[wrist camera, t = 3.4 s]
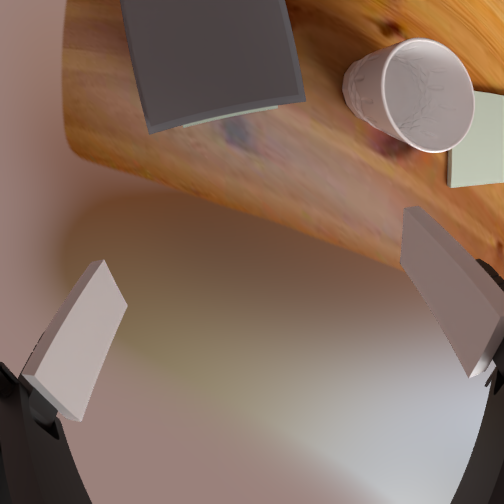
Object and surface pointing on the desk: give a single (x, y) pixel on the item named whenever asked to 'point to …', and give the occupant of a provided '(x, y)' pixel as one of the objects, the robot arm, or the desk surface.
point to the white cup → (413, 94)
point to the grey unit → (210, 59)
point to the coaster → (480, 146)
